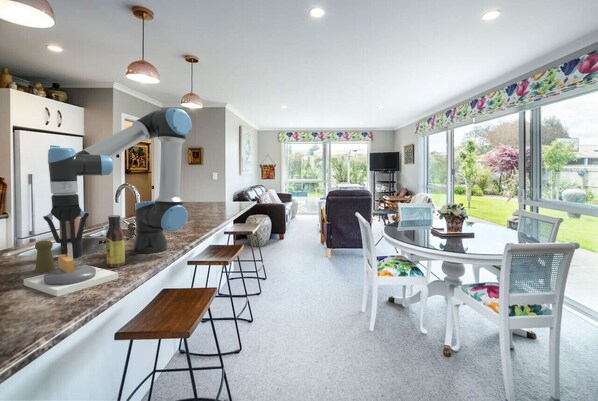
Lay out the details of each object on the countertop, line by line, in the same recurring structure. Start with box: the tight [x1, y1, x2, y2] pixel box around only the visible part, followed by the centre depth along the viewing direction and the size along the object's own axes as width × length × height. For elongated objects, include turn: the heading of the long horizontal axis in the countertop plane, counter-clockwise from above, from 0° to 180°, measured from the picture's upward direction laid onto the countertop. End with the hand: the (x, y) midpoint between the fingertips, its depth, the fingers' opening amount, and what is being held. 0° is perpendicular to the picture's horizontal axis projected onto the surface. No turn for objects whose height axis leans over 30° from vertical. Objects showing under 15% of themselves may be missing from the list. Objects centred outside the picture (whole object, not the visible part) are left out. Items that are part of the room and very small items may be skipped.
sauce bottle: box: [105, 214, 126, 268], centre depth 127 cm, size 6×6×20 cm
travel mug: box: [58, 214, 83, 259], centre depth 140 cm, size 8×8×20 cm
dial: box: [43, 254, 96, 285], centre depth 108 cm, size 18×14×6 cm
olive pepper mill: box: [34, 239, 56, 273], centre depth 122 cm, size 6×6×11 cm
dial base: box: [23, 264, 119, 297], centre depth 110 cm, size 19×20×2 cm
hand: (70, 261), depth 113 cm, fingers closed
